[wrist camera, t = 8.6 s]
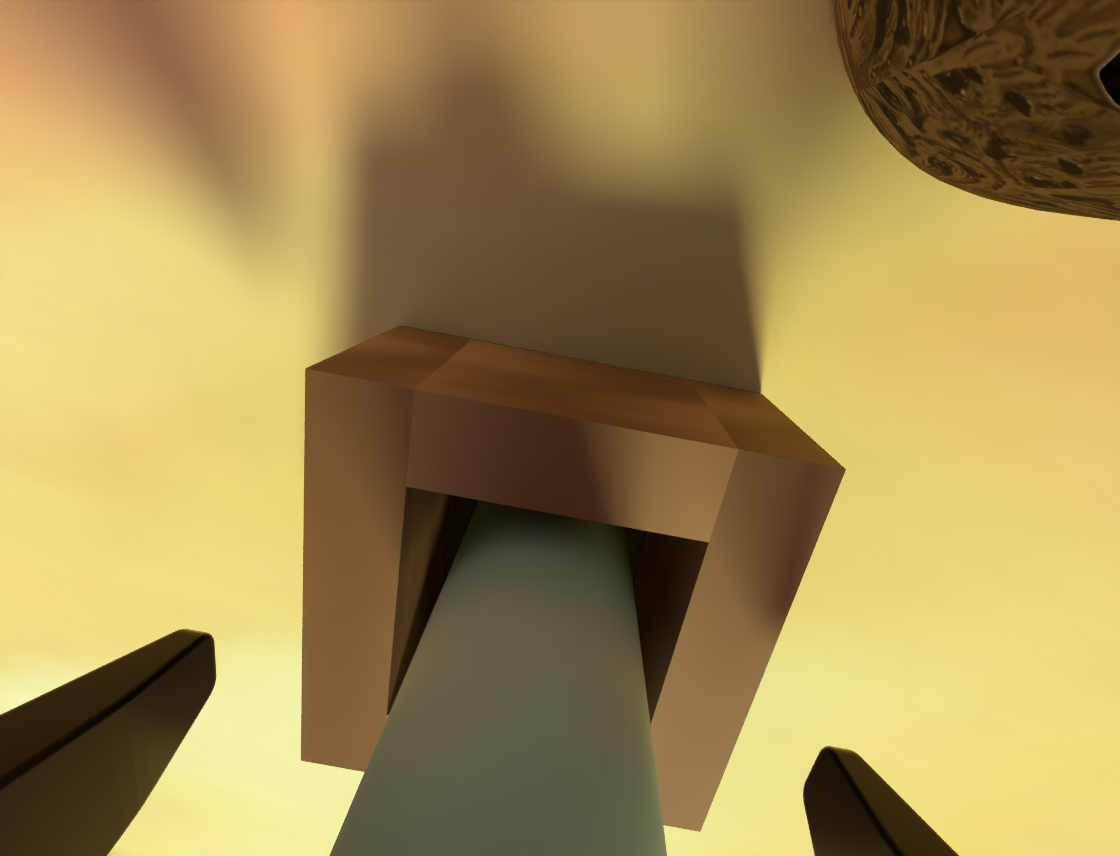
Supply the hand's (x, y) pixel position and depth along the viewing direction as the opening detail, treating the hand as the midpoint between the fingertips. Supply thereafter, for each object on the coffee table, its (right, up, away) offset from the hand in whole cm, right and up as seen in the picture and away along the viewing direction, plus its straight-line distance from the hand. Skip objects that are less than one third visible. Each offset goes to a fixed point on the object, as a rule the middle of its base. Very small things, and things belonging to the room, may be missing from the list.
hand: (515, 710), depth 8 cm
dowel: (0, +2, +5) cm, 6 cm away
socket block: (0, +2, +5) cm, 6 cm away
